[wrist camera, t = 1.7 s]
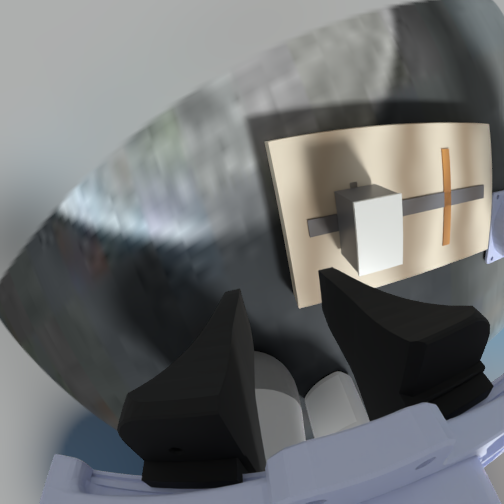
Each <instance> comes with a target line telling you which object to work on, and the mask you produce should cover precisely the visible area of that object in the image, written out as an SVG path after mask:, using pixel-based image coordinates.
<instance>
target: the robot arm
mask: <svg viewBox="0 0 504 504" xmlns="http://www.w3.org/2000/svg"><path fill="white" fill-rule="evenodd" d="M502 257H504V190H502V191H497V192H493V193H492V206H491V221H490V232H489V241H488V249H487V250H486V255H485V262H486V263H487V264H489V263H491V262H493V261H496V260H498V259H500V258H502ZM318 274H319V282H320V291H321V300H322V310H323V313H324V315H325V318H326V321H327V323H328V326H329V328H330V330H331V332H332V334H333V336H334V338H335V340H336V341H337V343H338V345H339V347H340V349H341V351H342V352H343V354H344V356H345V358H346V360H347V362H348V364H349V365H350V368H351V370H352V372H353V374H354V377H355V379H356V382H357V385H358V387H359V390H360V393H361V396H362V398H363V401H364V404H365V407H366V410H367V413H368V417H369V420H370V422H368V423H365V424H362V425H359V426H356V427H353V428H350V429H346V430H343V431H340V432H336V433H333V434H330V435H326V436H322V437H318V438H314V439H310V440H306V441H303V442H300V443H298V444H295V445H292V446H288V447H285V448H283V449H282V450H280V451H279V452H277V453H276V454H274V455H273V456H271V457H270V458H269V459H268V460H267V463H266V458H265V453H264V447H263V441H262V435H261V429H260V423H259V417H258V410H257V403H256V395H255V368H254V345H253V338H252V332H251V326H250V323H249V319H248V316H247V312H246V309H245V305H244V302H243V298H242V295H241V291H240V289H237V290H232V291H227V292H225V293H224V295H223V297H222V299H221V301H220V303H219V304H218V306H217V308H216V310H215V312H214V313H213V315H212V317H211V318H210V320H209V322H208V323H207V325H206V326H205V328H204V329H203V330H202V332H201V333H200V335H199V336H198V337H197V339H196V340H195V341H194V342H193V343H192V344H191V346H190V347H189V348H188V349H187V350H186V351H185V352H184V353H183V354H182V355H181V356H180V357H179V358H178V359H177V360H175V361H174V362H173V363H172V364H171V365H170V366H169V367H167V368H166V369H165V370H164V371H162V372H161V373H160V374H158V375H157V376H156V377H154V378H153V379H151V380H150V381H148V382H147V383H145V384H143V385H142V386H140V387H138V388H137V389H135V390H133V391H131V392H129V393H128V394H127V397H126V399H125V402H124V405H123V409H122V412H121V416H120V420H119V424H118V428H117V431H118V433H119V436H120V437H121V438H122V440H123V441H124V442H125V443H126V444H127V445H128V446H129V447H130V448H131V449H132V450H133V451H134V452H135V453H137V454H138V455H139V456H140V457H141V458H142V459H143V460H144V467H143V473H142V476H138V475H128V474H119V473H111V472H104V471H98V470H93V469H92V468H91V467H90V466H89V465H88V464H86V463H85V462H83V461H82V460H79V459H77V458H74V457H68V456H64V455H60V454H55V455H54V458H53V461H52V463H51V466H50V469H49V473H48V476H47V479H46V482H45V485H44V489H43V492H42V496H41V499H40V504H501V502H500V500H499V498H498V495H497V493H496V491H495V489H494V487H493V485H492V483H491V481H490V479H489V477H488V475H487V473H486V472H485V470H484V467H485V466H486V465H488V464H489V463H490V462H491V461H493V460H494V459H495V458H497V457H498V456H499V455H500V454H501V453H503V452H504V374H503V375H501V376H500V377H498V378H497V379H496V380H494V381H493V382H490V381H489V379H488V378H487V377H486V375H485V374H484V373H483V371H484V369H485V366H484V365H483V363H482V362H481V361H480V359H481V357H482V354H483V352H484V349H485V346H486V344H487V341H488V337H489V334H490V324H489V322H488V320H487V319H486V318H485V317H484V316H483V315H482V314H481V313H480V312H479V311H478V310H477V309H475V308H474V307H473V306H447V305H437V304H429V303H423V302H418V301H413V300H409V299H405V298H401V297H398V296H395V295H392V294H388V293H386V292H383V291H381V290H378V289H376V288H373V287H371V286H369V285H367V284H364V283H362V282H360V281H358V280H356V279H354V278H352V277H350V276H349V275H347V274H345V273H343V272H341V271H339V270H337V269H335V268H333V267H330V268H326V269H322V270H318Z"/></svg>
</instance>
